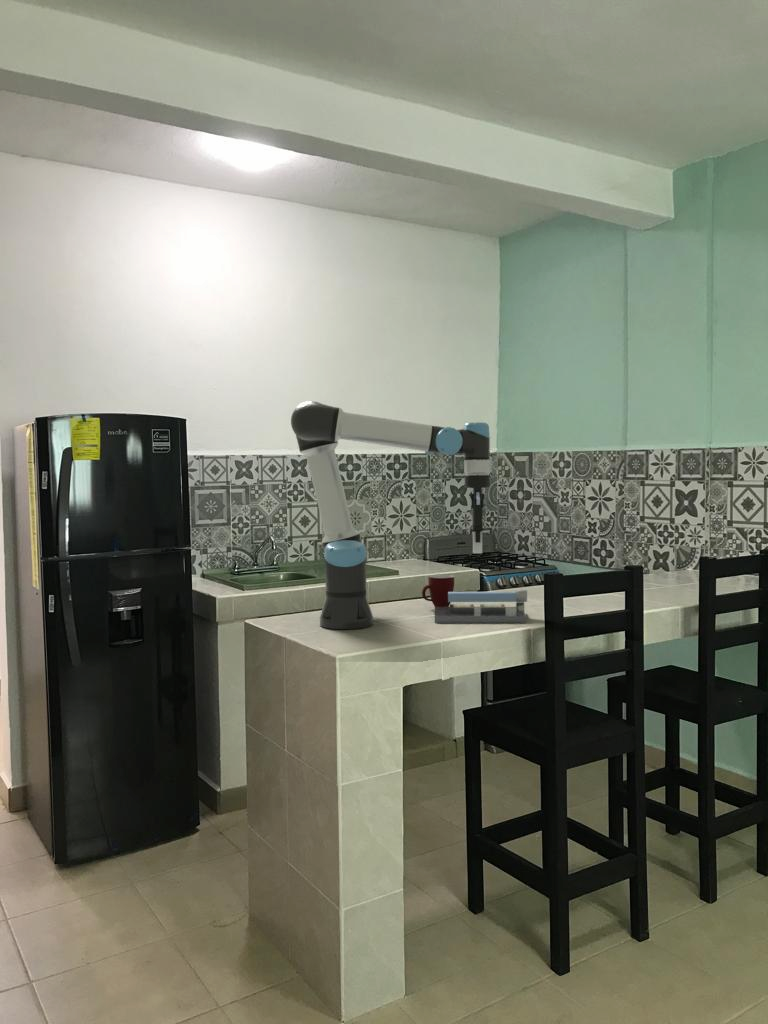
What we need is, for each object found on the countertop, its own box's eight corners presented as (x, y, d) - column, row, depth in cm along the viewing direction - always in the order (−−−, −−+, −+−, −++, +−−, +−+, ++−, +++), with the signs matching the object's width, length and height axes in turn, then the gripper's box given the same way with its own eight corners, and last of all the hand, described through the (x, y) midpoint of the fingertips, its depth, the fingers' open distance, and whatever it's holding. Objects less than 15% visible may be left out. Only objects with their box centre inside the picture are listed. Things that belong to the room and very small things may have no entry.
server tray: (434, 622, 240) (434, 607, 240) (434, 613, 255) (434, 598, 255) (527, 622, 238) (527, 607, 238) (521, 613, 253) (521, 598, 253)
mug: (430, 611, 257) (430, 579, 257) (417, 608, 264) (416, 576, 264) (459, 608, 262) (459, 576, 262) (445, 604, 269) (445, 573, 269)
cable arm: (526, 599, 247) (526, 589, 247) (527, 602, 243) (527, 591, 243) (448, 599, 249) (448, 589, 249) (448, 602, 245) (448, 592, 245)
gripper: (491, 474, 244) (491, 555, 245) (488, 473, 258) (488, 550, 259) (465, 475, 244) (465, 555, 246) (463, 474, 258) (464, 550, 260)
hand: (477, 552), depth 252 cm, fingers closed
